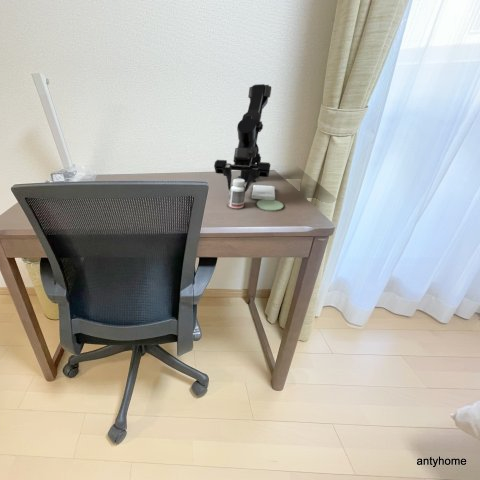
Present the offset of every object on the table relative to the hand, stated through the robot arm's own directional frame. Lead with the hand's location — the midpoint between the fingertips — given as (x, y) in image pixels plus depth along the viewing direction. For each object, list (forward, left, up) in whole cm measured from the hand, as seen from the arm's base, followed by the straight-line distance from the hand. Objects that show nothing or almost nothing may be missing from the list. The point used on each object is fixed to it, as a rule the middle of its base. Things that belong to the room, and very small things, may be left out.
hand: (237, 190), depth 90 cm
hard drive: (-11, +12, -6) cm, 18 cm away
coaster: (-1, +12, -7) cm, 14 cm away
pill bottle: (-1, 0, -7) cm, 7 cm away
